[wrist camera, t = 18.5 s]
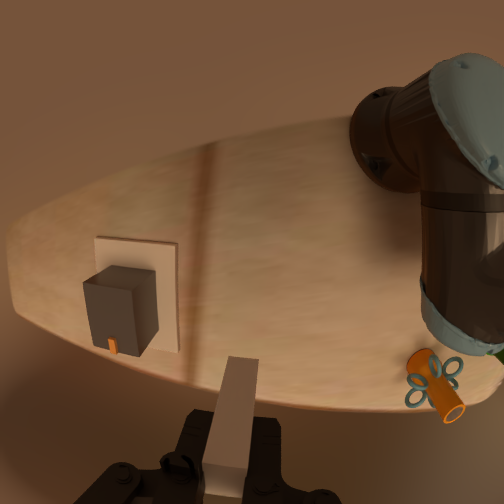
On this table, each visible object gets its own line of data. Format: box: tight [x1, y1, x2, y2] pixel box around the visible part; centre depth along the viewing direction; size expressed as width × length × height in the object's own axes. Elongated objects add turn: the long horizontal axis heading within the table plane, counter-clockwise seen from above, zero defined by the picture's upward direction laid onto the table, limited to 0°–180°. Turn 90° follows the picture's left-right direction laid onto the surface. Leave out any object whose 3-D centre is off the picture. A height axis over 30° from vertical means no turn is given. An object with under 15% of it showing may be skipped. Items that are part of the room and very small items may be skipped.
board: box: [94, 237, 180, 353], centre depth 39 cm, size 18×14×7 cm
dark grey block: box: [83, 265, 159, 357], centre depth 37 cm, size 10×8×9 cm
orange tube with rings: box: [405, 349, 465, 423], centre depth 35 cm, size 12×10×15 cm
